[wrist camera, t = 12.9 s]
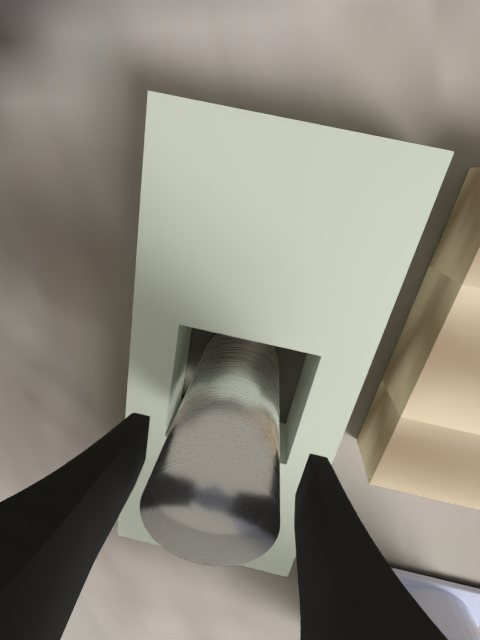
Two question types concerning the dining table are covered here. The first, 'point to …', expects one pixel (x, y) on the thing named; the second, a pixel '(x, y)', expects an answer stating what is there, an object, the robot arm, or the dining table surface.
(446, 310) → the socket block
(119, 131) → the dining table surface
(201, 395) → the steel peg
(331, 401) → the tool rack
